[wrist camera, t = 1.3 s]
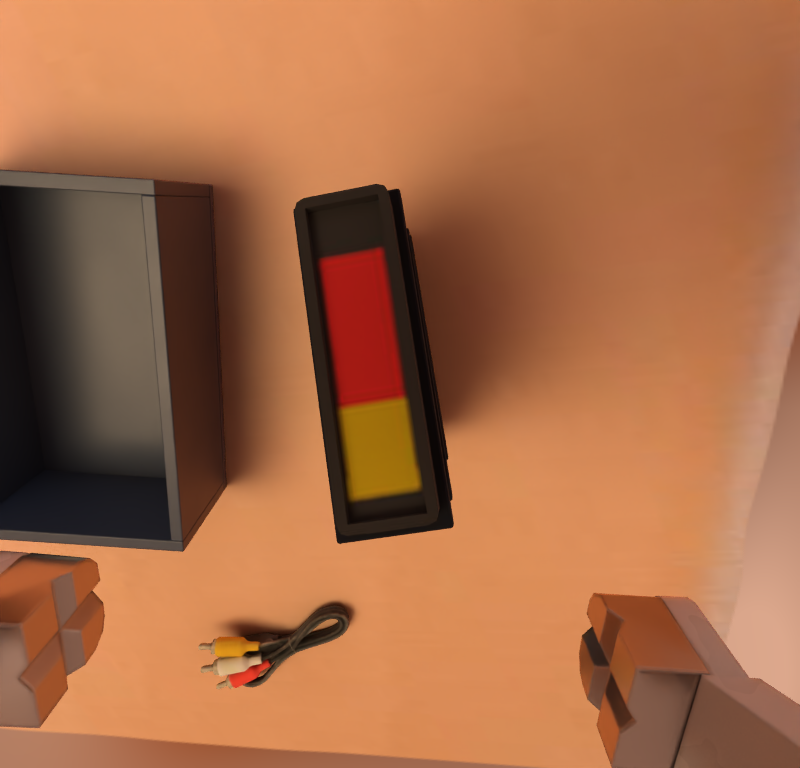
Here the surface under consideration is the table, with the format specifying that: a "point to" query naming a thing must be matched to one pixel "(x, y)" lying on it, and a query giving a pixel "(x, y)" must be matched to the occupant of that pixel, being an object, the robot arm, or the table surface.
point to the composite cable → (269, 649)
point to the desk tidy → (108, 360)
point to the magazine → (372, 366)
